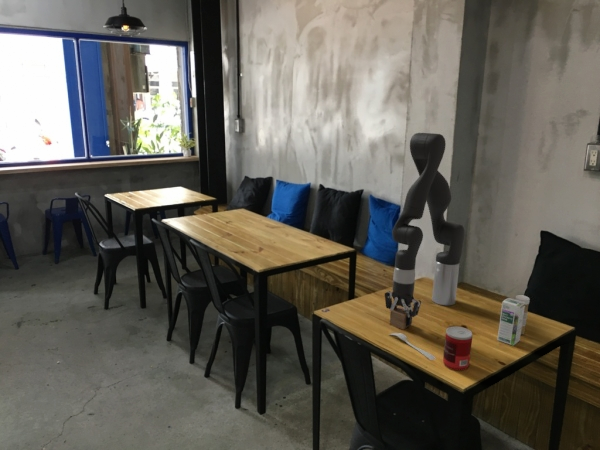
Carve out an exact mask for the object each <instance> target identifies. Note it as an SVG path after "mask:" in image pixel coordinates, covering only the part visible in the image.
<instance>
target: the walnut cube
mask: <svg viewBox="0 0 600 450" xmlns="http://www.w3.org/2000/svg"><path fill="white" fill-rule="evenodd" d="M390 314H391V318H390V321H389V325H390V326H392V327H395V328H399V329H401V330H405V329H407V328H408V327H410V326H411V325H409V326H406V317H407V315H406V311H405V310H404V307H402V306H398V307H397V308H395V309H394V310H392V311H390Z"/></svg>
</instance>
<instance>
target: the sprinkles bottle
mask: <svg viewBox="0 0 600 450" xmlns="http://www.w3.org/2000/svg"><path fill="white" fill-rule="evenodd" d="M514 299H515V300H518V301H522V302H525V308H524V315H523V322H522V328H521V335H524V334H525V329H526V324H527V318H528V317H527V316H528V313H529V312H528V309H529V304H530V302H531V301H530V300H531V299H530V297H528V296H526V295H523V294H519V295H515V298H514Z"/></svg>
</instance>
